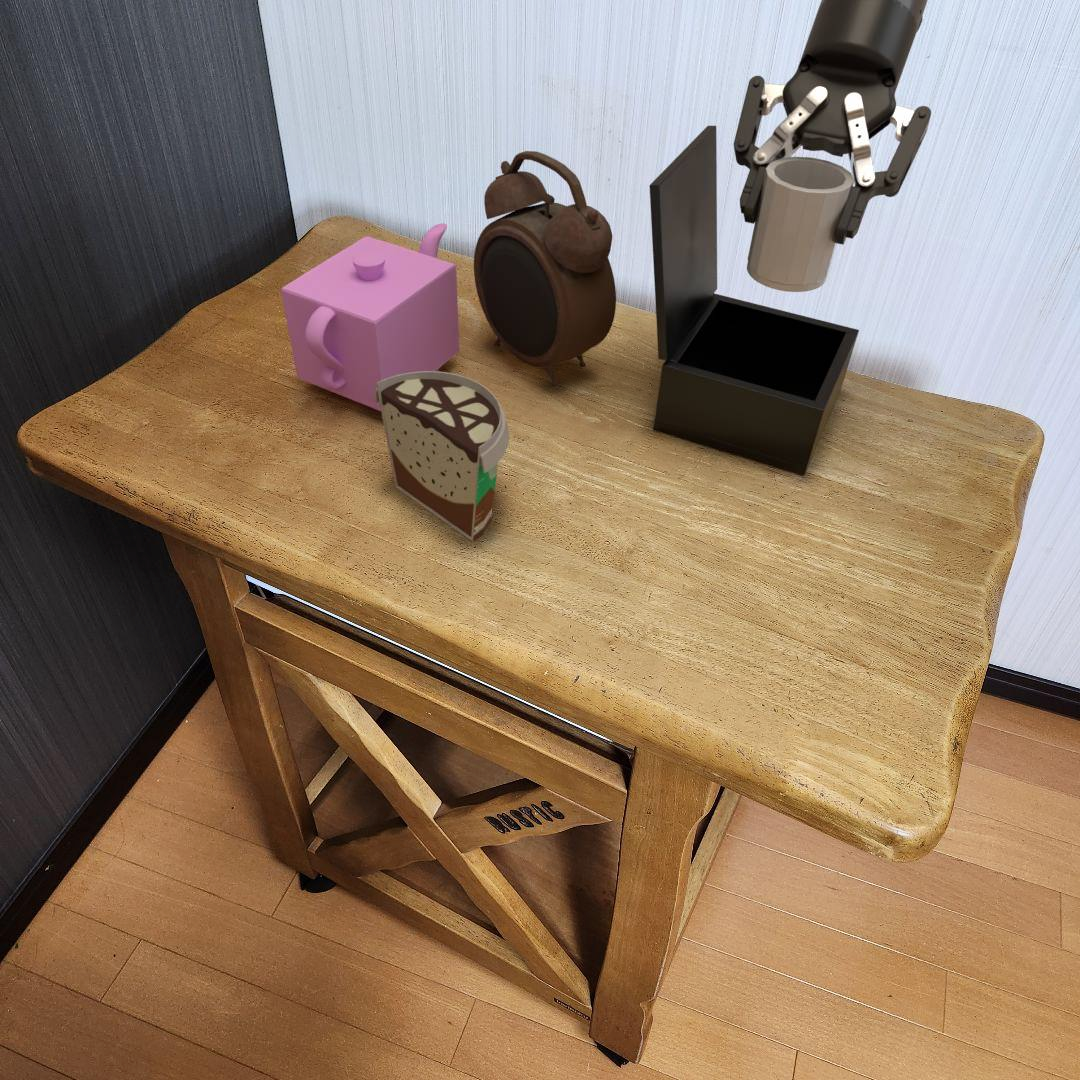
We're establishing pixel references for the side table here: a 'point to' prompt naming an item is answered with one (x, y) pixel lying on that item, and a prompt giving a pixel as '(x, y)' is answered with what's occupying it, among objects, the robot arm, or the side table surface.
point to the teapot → (373, 316)
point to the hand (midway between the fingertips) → (793, 229)
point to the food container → (444, 444)
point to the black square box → (754, 382)
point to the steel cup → (797, 223)
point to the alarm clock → (544, 268)
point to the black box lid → (684, 239)
